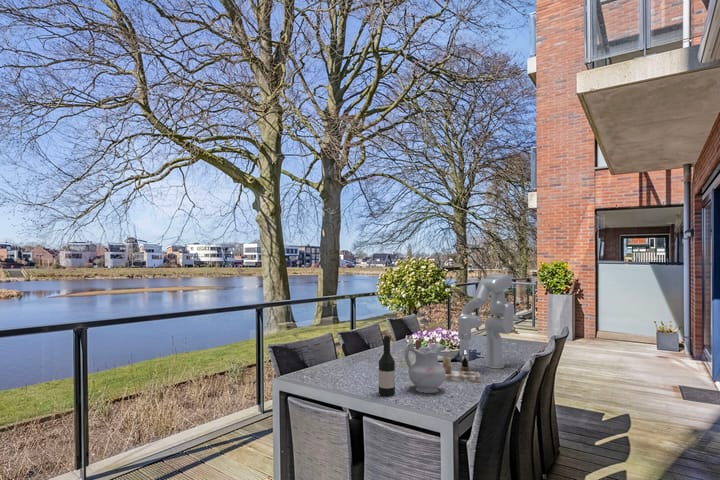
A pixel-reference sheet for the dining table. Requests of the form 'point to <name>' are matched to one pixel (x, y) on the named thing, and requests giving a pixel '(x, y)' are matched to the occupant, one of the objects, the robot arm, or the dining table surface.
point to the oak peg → (465, 367)
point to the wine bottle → (386, 371)
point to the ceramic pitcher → (426, 368)
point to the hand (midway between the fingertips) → (464, 365)
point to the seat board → (459, 373)
